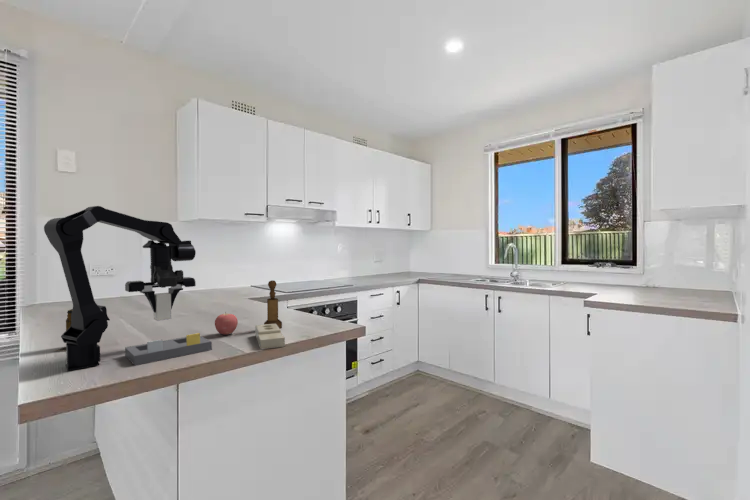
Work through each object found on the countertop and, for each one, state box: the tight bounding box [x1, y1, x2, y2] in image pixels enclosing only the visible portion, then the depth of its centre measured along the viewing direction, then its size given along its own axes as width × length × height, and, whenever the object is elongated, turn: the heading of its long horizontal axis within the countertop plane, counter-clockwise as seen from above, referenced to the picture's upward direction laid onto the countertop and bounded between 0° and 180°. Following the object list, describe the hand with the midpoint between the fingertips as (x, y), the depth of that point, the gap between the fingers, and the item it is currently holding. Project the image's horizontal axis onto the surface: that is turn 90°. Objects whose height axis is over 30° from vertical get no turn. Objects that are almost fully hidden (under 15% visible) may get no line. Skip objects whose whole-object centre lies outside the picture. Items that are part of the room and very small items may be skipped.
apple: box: [214, 311, 239, 336], centre depth 132 cm, size 7×7×8 cm
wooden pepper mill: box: [263, 280, 283, 330], centre depth 141 cm, size 7×6×18 cm
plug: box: [153, 292, 172, 322], centre depth 119 cm, size 4×4×8 cm
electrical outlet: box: [254, 324, 286, 350], centre depth 123 cm, size 7×4×18 cm
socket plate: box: [124, 332, 213, 366], centre depth 111 cm, size 20×12×6 cm, turn 134°
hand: (162, 311), depth 119 cm, fingers closed on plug, 4 cm apart
